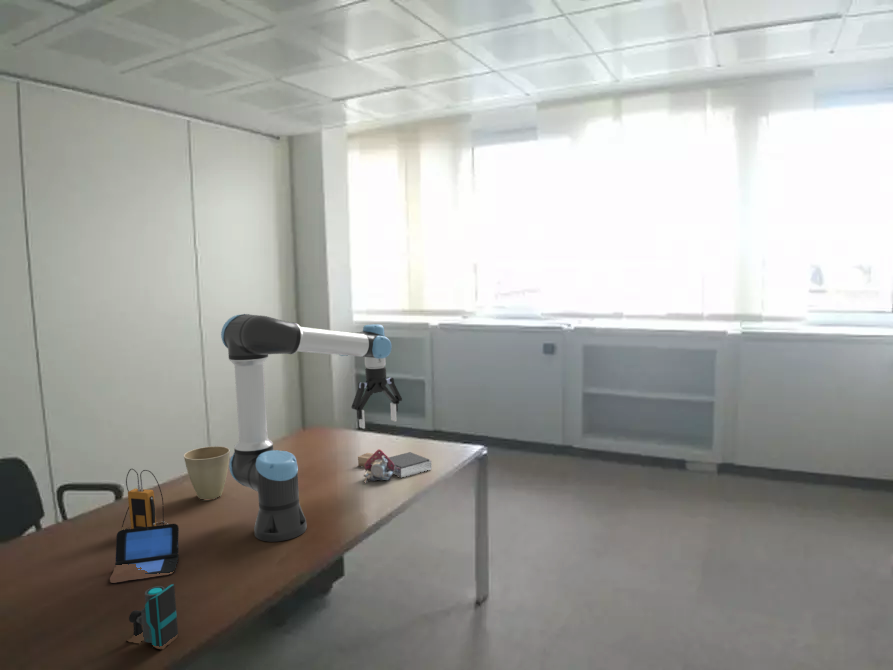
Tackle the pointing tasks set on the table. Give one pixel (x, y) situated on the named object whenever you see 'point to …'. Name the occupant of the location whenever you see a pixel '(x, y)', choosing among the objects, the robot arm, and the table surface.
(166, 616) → the surveillance camera
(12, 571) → the table surface
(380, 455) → the brake caliper
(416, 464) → the stand
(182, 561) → the table surface
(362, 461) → the brown rectangular block
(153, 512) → the multimeter
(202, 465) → the plant pot
